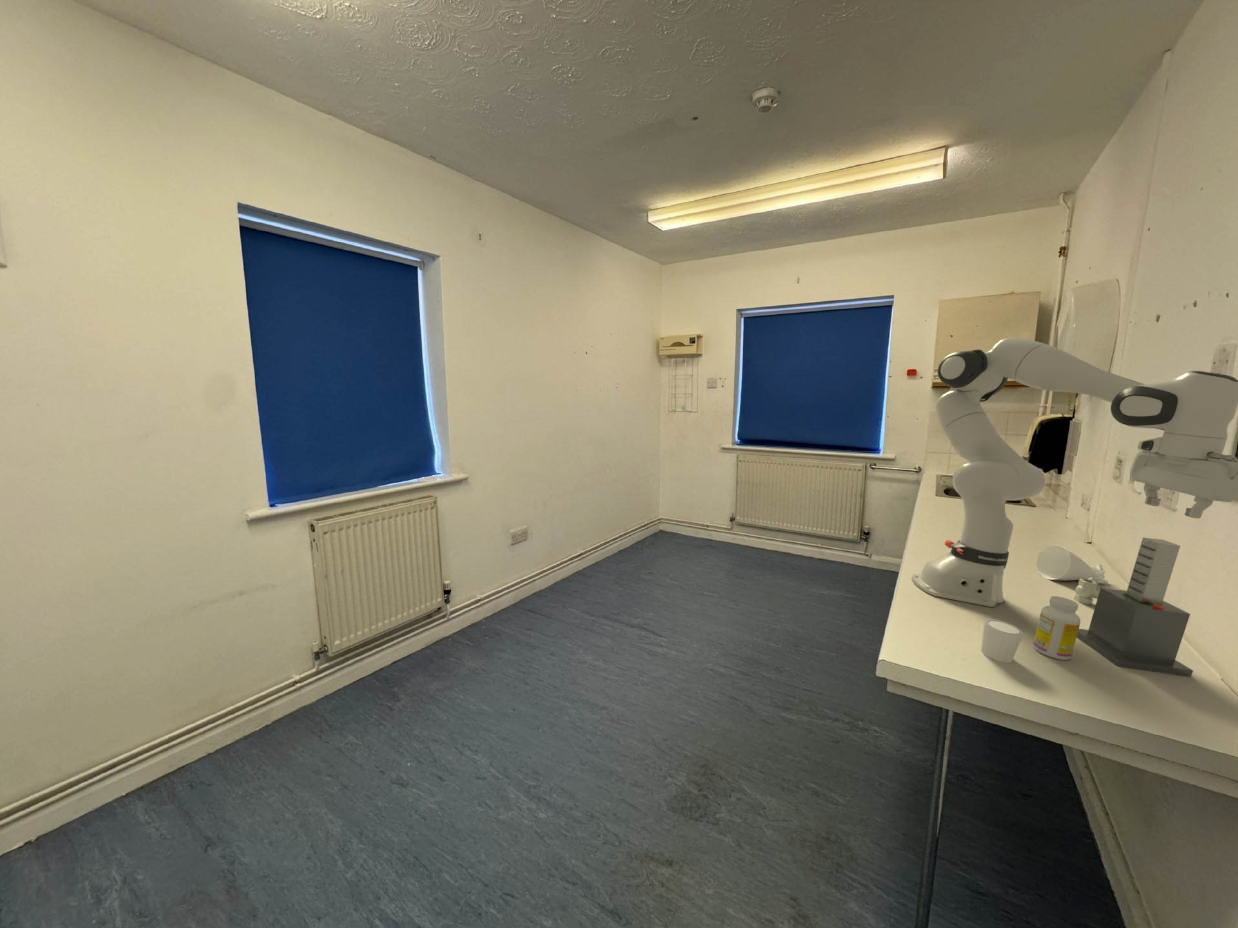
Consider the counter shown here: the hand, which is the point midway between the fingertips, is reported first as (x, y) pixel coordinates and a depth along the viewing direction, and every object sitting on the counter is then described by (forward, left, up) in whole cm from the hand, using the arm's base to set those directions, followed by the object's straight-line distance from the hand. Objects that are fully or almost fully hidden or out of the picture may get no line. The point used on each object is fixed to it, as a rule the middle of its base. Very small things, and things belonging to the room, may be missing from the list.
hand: (1170, 511), depth 106 cm
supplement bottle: (-19, -5, -35) cm, 40 cm away
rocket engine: (+21, +47, -35) cm, 62 cm away
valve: (+14, +28, -35) cm, 47 cm away
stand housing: (0, 0, -35) cm, 35 cm away
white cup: (-33, -10, -35) cm, 49 cm away
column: (0, 0, -27) cm, 27 cm away
